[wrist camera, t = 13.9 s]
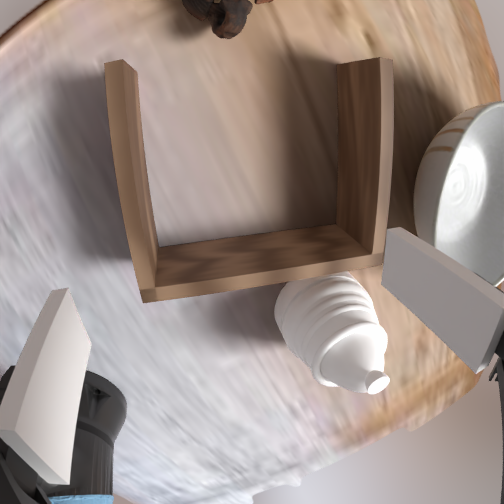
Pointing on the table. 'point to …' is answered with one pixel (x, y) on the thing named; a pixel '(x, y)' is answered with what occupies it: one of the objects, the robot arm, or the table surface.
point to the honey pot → (334, 331)
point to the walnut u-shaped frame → (273, 243)
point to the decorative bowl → (465, 191)
